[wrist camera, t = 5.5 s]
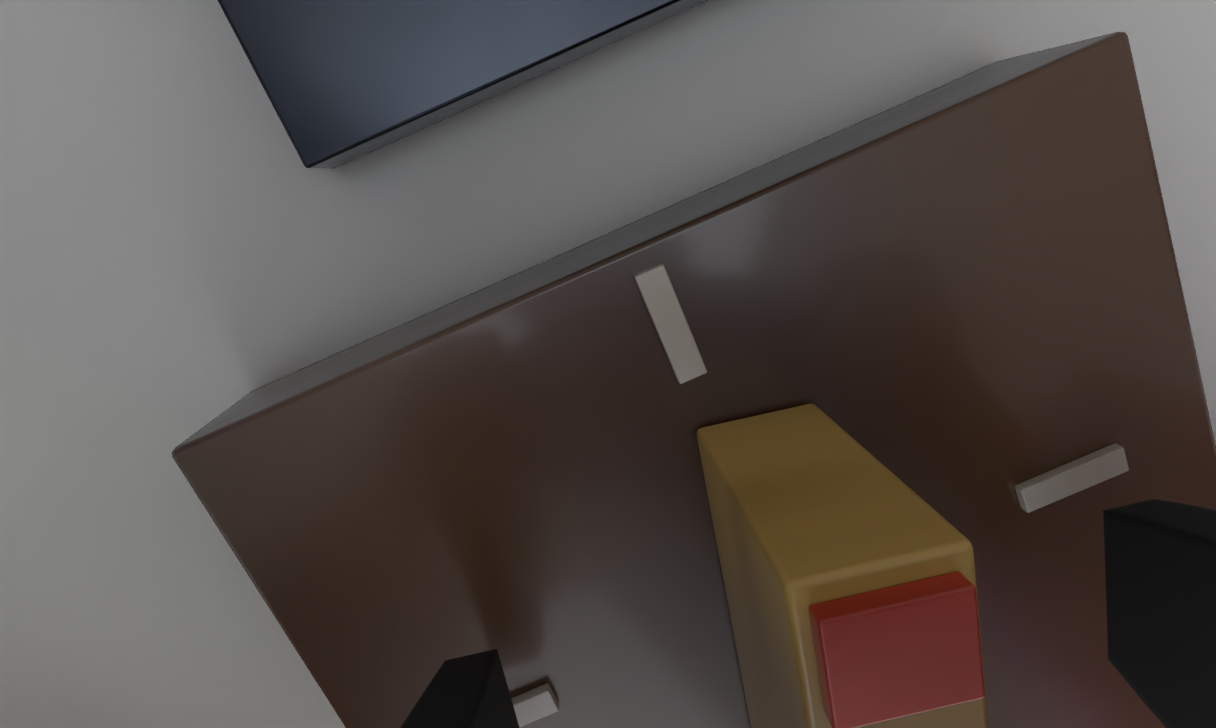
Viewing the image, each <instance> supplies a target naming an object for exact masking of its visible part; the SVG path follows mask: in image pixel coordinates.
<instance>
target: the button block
mask: <svg viewBox="0 0 1216 728" xmlns="http://www.w3.org/2000/svg"><path fill="white" fill-rule="evenodd" d="M705 1H707V0H218V2H219V4H220V6H221V8H222V10H223V12H224V14H225V15H226V17H227V19H228V21H229V23H230V25H231V27H232V29H233V31H234V33H235V34H236V36H237V38H238V40H239V42H240V44H241V46H242V48H243V50H244V52H245V54H246V55H247V57H248V59H249V61H250V63H251V65H252V67H253V69H254V71H255V73H256V75H257V76H258V78H259V80H260V82H261V84H262V86H263V88H264V90H265V92H266V94H267V95H268V97H269V99H270V101H271V103H272V105H273V107H274V109H275V111H276V113H277V115H278V116H279V118H280V120H281V122H282V124H283V126H284V128H285V130H286V132H287V134H288V136H289V137H290V139H291V141H292V143H293V145H294V147H295V149H296V151H297V153H298V155H299V157H300V158H301V160H302V162H303V164H304V166H305V167H306V168H336V167H339V166H341V165H343V164H345V163H348V162H350V161H352V160H354V159H356V158H359V157H361V156H363V155H365V154H367V153H370V152H372V151H374V150H376V149H379V148H381V147H383V146H385V145H387V144H390V143H392V142H394V141H396V140H399V139H401V138H403V137H405V136H407V135H410V134H412V133H414V132H416V131H419V130H421V129H423V128H425V127H427V126H430V125H432V124H434V123H436V122H438V121H441V120H443V119H445V118H447V117H450V116H452V115H454V114H456V113H458V112H461V111H463V110H465V109H467V108H470V107H472V106H474V105H476V104H478V103H481V102H483V101H485V100H487V99H490V98H492V97H494V96H496V95H498V94H501V93H503V92H505V91H507V90H509V89H512V88H514V87H516V86H518V85H521V84H523V83H525V82H527V81H529V80H532V79H534V78H536V77H538V76H541V75H543V74H545V73H547V72H549V71H552V70H554V69H556V68H558V67H561V66H563V65H565V64H567V63H569V62H572V61H574V60H576V59H578V58H581V57H583V56H585V55H587V54H589V53H592V52H594V51H596V50H598V49H600V48H603V47H605V46H607V45H609V44H612V43H614V42H616V41H618V40H620V39H623V38H625V37H627V36H629V35H632V34H634V33H636V32H638V31H640V30H643V29H645V28H647V27H649V26H652V25H654V24H656V23H658V22H660V21H663V20H665V19H667V18H669V17H671V16H674V15H676V14H678V13H680V12H683V11H685V10H687V9H689V8H691V7H694V6H696V5H698V4H700V3H703V2H705Z"/></svg>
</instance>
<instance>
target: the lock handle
mask: <svg viewBox="0 0 1216 728" xmlns="http://www.w3.org/2000/svg"><path fill="white" fill-rule="evenodd" d="M697 440H698V446H699V451H700V457H701V462H702V467H703V473H704V478H705V483H706V489H707V494H708V499H709V505H710V510H711V516H712V521H713V526H714V532H715V537H716V542H717V548H718V553H719V558H720V564H721V569H722V575H723V580H724V585H725V591H726V596H727V601H728V607H729V612H730V617H731V623H732V628H733V633H734V639H735V644H736V650H737V655H738V660H739V666H740V671H741V676H742V682H743V687H744V692H745V698H746V703H747V709H748V714H749V719H750V725H751V728H988V716H987V704H986V693H985V681H984V669H983V658H982V646H981V634H980V623H979V611H978V599H977V588H976V576H975V564H974V553H973V547H972V544H971V543H970V541H969V540H968V539H967V538H966V537H965V536H964V535H963V534H961V533H960V532H959V531H958V530H957V529H956V528H955V527H953V526H952V525H951V524H950V523H949V522H948V521H947V520H946V519H944V518H943V517H942V516H941V515H940V514H939V513H938V512H936V511H935V510H934V509H933V508H932V507H931V506H930V505H928V504H927V503H926V502H925V501H924V500H923V499H922V498H920V497H919V496H918V495H917V494H916V493H915V492H914V491H913V490H911V489H910V488H909V487H908V486H907V485H906V484H905V483H903V482H902V481H901V480H900V479H899V478H898V477H897V476H895V475H894V474H893V473H892V472H891V471H890V470H889V469H887V468H886V467H885V466H884V465H883V464H882V463H881V462H879V461H878V460H877V459H876V458H875V457H874V456H873V455H872V454H870V453H869V452H868V451H867V450H866V449H865V448H864V447H862V446H861V445H860V444H859V443H858V442H857V441H856V440H854V439H853V438H852V437H851V436H850V435H849V434H848V433H846V432H845V431H844V430H843V429H842V428H841V427H840V426H839V425H837V424H836V423H835V422H834V421H833V420H832V419H831V418H829V417H828V416H827V415H826V414H825V413H824V412H823V411H821V410H820V409H819V408H818V407H817V406H816V405H815V404H806V405H802V406H797V407H793V408H788V409H784V410H779V411H775V412H770V413H766V414H761V415H757V416H752V417H748V418H743V419H739V420H734V421H730V422H725V423H721V424H716V425H712V426H707V427H703V428H700V429H698V430H697Z"/></svg>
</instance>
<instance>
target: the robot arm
mask: <svg viewBox="0 0 1216 728" xmlns="http://www.w3.org/2000/svg"><path fill="white" fill-rule="evenodd" d="M1103 516H1104V547H1105V577H1106V607H1107V637H1108V660H1109V661H1110V662H1111V663H1112V664H1113V666H1114V667H1115V668H1116V669H1117V670H1118V672H1119V673H1120V674H1121V675H1122V677H1123V678H1124V679H1125V680H1126V681H1127V683H1128V684H1129V685H1130V686H1131V687H1132V689H1133V690H1134V691H1135V692H1136V694H1137V695H1138V696H1139V697H1140V698H1141V700H1142V701H1143V702H1144V703H1145V704H1146V705H1147V707H1148V708H1149V709H1150V710H1151V711H1152V712H1153V713H1154V715H1155V716H1156V717H1157V718H1158V719H1159V720H1160V721H1161V722H1162V724H1163V725H1164V726H1165V727H1166V728H1216V510H1213V509H1208V508H1203V507H1198V506H1193V505H1188V504H1183V503H1177V502H1171V501H1164V500H1158V499H1151V500H1147V501H1143V502H1138V503H1134V504H1129V505H1125V506H1121V507H1116V508H1112V509H1107V510H1103ZM400 728H519V724H518V721H517V717H516V714H515V710H514V707H513V703H512V699H511V696H510V692H509V689H508V685H507V682H506V678H505V675H504V671H503V668H502V664H501V661H500V657H499V654H498V650H497V649H494V650H489V651H485V652H480V653H476V654H472V655H467V656H463V657H459V658H454V659H450V660H445V661H444V663H443V664H442V666H441V667H440V669H439V670H438V672H437V673H436V675H435V676H434V677H433V679H432V680H431V682H430V683H429V685H428V686H427V688H426V689H425V691H424V692H423V694H422V695H421V697H420V698H419V700H418V701H417V703H416V704H415V706H414V707H413V709H412V710H411V712H410V714H409V715H408V717H407V718H406V720H405V721H404V723H403V724H402V726H401V727H400Z"/></svg>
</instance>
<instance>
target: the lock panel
mask: <svg viewBox="0 0 1216 728" xmlns="http://www.w3.org/2000/svg"><path fill="white" fill-rule="evenodd" d="M806 404H815V405H816V406H817V407H818V408H819V409H820V410H821V411H823V412H824V413H825V414H826V415H827V416H828V417H829V418H831V419H832V420H833V421H834V422H835V423H836V424H837V425H839V426H840V427H841V428H842V429H843V430H844V431H845V432H846V433H848V434H849V435H850V436H851V437H852V438H853V439H854V440H856V441H857V442H858V443H859V444H860V445H861V446H862V447H864V448H865V449H866V450H867V451H868V452H869V453H870V454H872V455H873V456H874V457H875V458H876V459H877V460H878V461H879V462H881V463H882V464H883V465H884V466H885V467H886V468H887V469H889V470H890V471H891V472H892V473H893V474H894V475H895V476H897V477H898V478H899V479H900V480H901V481H902V482H903V483H905V484H906V485H907V486H908V487H909V488H910V489H911V490H913V491H914V492H915V493H916V494H917V495H918V496H919V497H920V498H922V499H923V500H924V501H925V502H926V503H927V504H928V505H930V506H931V507H932V508H933V509H934V510H935V511H936V512H938V513H939V514H940V515H941V516H942V517H943V518H944V519H946V520H947V521H948V522H949V523H950V524H951V525H952V526H953V527H955V528H956V529H957V530H958V531H959V532H960V533H961V534H963V535H964V536H965V537H966V538H967V539H968V540H969V541H970V543H971V544H972V547H973V553H974V564H975V576H976V588H977V599H978V611H979V623H980V634H981V646H982V658H983V669H984V681H985V693H986V704H987V716H988V728H1166V727H1165V726H1164V725H1163V724H1162V722H1161V721H1160V720H1159V719H1158V718H1157V717H1156V716H1155V715H1154V713H1153V712H1152V711H1151V710H1150V709H1149V708H1148V707H1147V705H1146V704H1145V703H1144V702H1143V701H1142V700H1141V698H1140V697H1139V696H1138V695H1137V694H1136V692H1135V691H1134V690H1133V689H1132V687H1131V686H1130V685H1129V684H1128V683H1127V681H1126V680H1125V679H1124V678H1123V677H1122V675H1121V674H1120V673H1119V672H1118V670H1117V669H1116V668H1115V667H1114V666H1113V664H1112V663H1111V662H1110V661H1109V660H1108V637H1107V607H1106V577H1105V547H1104V516H1103V510H1107V509H1112V508H1116V507H1121V506H1125V505H1129V504H1134V503H1138V502H1143V501H1147V500H1151V499H1158V500H1164V501H1171V502H1177V503H1183V504H1188V505H1193V506H1198V507H1203V508H1208V509H1213V510H1216V445H1215V440H1214V436H1213V431H1212V426H1211V422H1210V417H1209V412H1208V408H1207V403H1206V398H1205V394H1204V389H1203V384H1202V380H1201V375H1200V370H1199V366H1198V361H1197V356H1196V352H1195V347H1194V342H1193V338H1192V333H1191V328H1190V324H1189V319H1188V314H1187V310H1186V305H1185V300H1184V296H1183V291H1182V286H1181V282H1180V277H1179V273H1178V268H1177V263H1176V259H1175V254H1174V249H1173V245H1172V240H1171V235H1170V231H1169V226H1168V221H1167V217H1166V212H1165V207H1164V203H1163V198H1162V193H1161V189H1160V184H1159V179H1158V175H1157V170H1156V165H1155V161H1154V156H1153V151H1152V147H1151V142H1150V137H1149V133H1148V128H1147V123H1146V119H1145V114H1144V109H1143V105H1142V100H1141V95H1140V91H1139V86H1138V81H1137V77H1136V72H1135V67H1134V63H1133V58H1132V53H1131V49H1130V44H1129V39H1128V36H1127V34H1126V33H1125V32H1115V33H1111V34H1107V35H1103V36H1099V37H1095V38H1091V39H1087V40H1083V41H1079V42H1075V43H1071V44H1067V45H1062V46H1058V47H1054V48H1050V49H1046V50H1042V51H1038V52H1034V53H1030V54H1026V55H1022V56H1018V57H1014V58H1010V59H1005V60H1001V61H997V62H995V63H993V64H991V65H988V66H986V67H984V68H982V69H979V70H977V71H975V72H973V73H970V74H968V75H966V76H963V77H961V78H959V79H957V80H954V81H952V82H950V83H948V84H945V85H943V86H941V87H939V88H936V89H934V90H932V91H930V92H927V93H925V94H923V95H921V96H918V97H916V98H914V99H911V100H909V101H907V102H905V103H902V104H900V105H898V106H896V107H893V108H891V109H889V110H887V111H884V112H882V113H880V114H878V115H875V116H873V117H871V118H868V119H866V120H864V121H862V122H859V123H857V124H855V125H853V126H850V127H848V128H846V129H844V130H841V131H839V132H837V133H835V134H832V135H830V136H828V137H826V138H823V139H821V140H819V141H816V142H814V143H812V144H810V145H807V146H805V147H803V148H801V149H798V150H796V151H794V152H792V153H789V154H787V155H785V156H783V157H780V158H778V159H776V160H773V161H771V162H769V163H767V164H764V165H762V166H760V167H758V168H755V169H753V170H751V171H749V172H746V173H744V174H742V175H740V176H737V177H735V178H733V179H731V180H728V181H726V182H724V183H721V184H719V185H717V186H715V187H712V188H710V189H708V190H706V191H703V192H701V193H699V194H697V195H694V196H692V197H690V198H688V199H685V200H683V201H681V202H678V203H676V204H674V205H672V206H669V207H667V208H665V209H663V210H660V211H658V212H656V213H654V214H651V215H649V216H647V217H645V218H642V219H640V220H638V221H636V222H633V223H631V224H629V225H626V226H624V227H622V228H620V229H617V230H615V231H613V232H611V233H608V234H606V235H604V236H602V237H599V238H597V239H595V240H593V241H590V242H588V243H586V244H583V245H581V246H579V247H577V248H574V249H572V250H570V251H568V252H565V253H563V254H561V255H559V256H556V257H554V258H552V259H550V260H547V261H545V262H543V263H541V264H538V265H536V266H534V267H531V268H529V269H527V270H525V271H522V272H520V273H518V274H516V275H513V276H511V277H509V278H507V279H504V280H502V281H500V282H498V283H495V284H493V285H491V286H488V287H486V288H484V289H482V290H479V291H477V292H475V293H473V294H470V295H468V296H466V297H464V298H461V299H459V300H457V301H455V302H452V303H450V304H448V305H446V306H443V307H441V308H439V309H436V310H434V311H432V312H430V313H427V314H425V315H423V316H421V317H418V318H416V319H414V320H412V321H409V322H407V323H405V324H403V325H400V326H398V327H396V328H393V329H391V330H389V331H387V332H384V333H382V334H380V335H378V336H375V337H373V338H371V339H369V340H366V341H364V342H362V343H360V344H357V345H355V346H353V347H351V348H348V349H346V350H344V351H341V352H339V353H337V354H335V355H332V356H330V357H328V358H326V359H323V360H321V361H319V362H317V363H314V364H312V365H310V366H308V367H305V368H303V369H301V370H298V371H296V372H294V373H292V374H289V375H287V376H285V377H283V378H280V379H278V380H276V381H274V382H271V383H269V384H267V385H265V386H262V387H260V388H258V389H255V390H253V391H251V392H250V393H249V394H247V395H246V396H245V397H243V398H242V399H241V400H239V401H238V402H236V403H235V404H234V405H232V406H231V407H230V408H228V409H227V410H226V411H224V412H223V413H222V414H220V415H219V416H218V417H216V418H215V419H213V420H212V421H211V422H209V423H208V424H207V425H205V426H204V427H203V428H201V429H200V430H199V431H197V432H196V433H194V434H193V435H192V436H190V437H189V438H188V439H186V440H185V441H184V442H182V443H181V444H180V445H178V446H177V447H176V448H175V449H174V450H173V451H172V457H173V458H174V460H175V462H176V463H177V465H178V466H179V468H180V469H181V471H182V473H183V474H184V476H185V477H186V479H187V480H188V482H189V483H190V485H191V487H192V488H193V490H194V491H195V493H196V494H197V496H198V498H199V499H200V501H201V502H202V504H203V505H204V507H205V508H206V510H207V512H208V513H209V515H210V516H211V518H212V519H213V521H214V523H215V524H216V526H217V527H218V529H219V530H220V532H221V533H222V535H223V537H224V538H225V540H226V541H227V543H228V544H229V546H230V547H231V549H232V551H233V552H234V554H235V555H236V557H237V558H238V560H239V562H240V563H241V565H242V566H243V568H244V569H245V571H246V572H247V574H248V576H249V577H250V579H251V580H252V582H253V583H254V585H255V587H256V588H257V590H258V591H259V593H260V594H261V596H262V597H263V599H264V601H265V602H266V604H267V605H268V607H269V608H270V610H271V612H272V613H273V615H274V616H275V618H276V619H277V621H278V622H279V624H280V626H281V627H282V629H283V630H284V632H285V633H286V635H287V636H288V638H289V640H290V641H291V643H292V644H293V646H294V647H295V649H296V651H297V652H298V654H299V655H300V657H301V658H302V660H303V661H304V663H305V665H306V666H307V668H308V669H309V671H310V672H311V674H312V676H313V677H314V679H315V680H316V682H317V683H318V685H319V686H320V688H321V690H322V691H323V693H324V694H325V696H326V697H327V699H328V701H329V702H330V704H331V705H332V707H333V708H334V710H335V711H336V713H337V715H338V716H339V718H340V719H341V721H342V722H343V724H344V726H345V727H346V728H400V727H401V726H402V724H403V723H404V721H405V720H406V718H407V717H408V715H409V714H410V712H411V710H412V709H413V707H414V706H415V704H416V703H417V701H418V700H419V698H420V697H421V695H422V694H423V692H424V691H425V689H426V688H427V686H428V685H429V683H430V682H431V680H432V679H433V677H434V676H435V675H436V673H437V672H438V670H439V669H440V667H441V666H442V664H443V663H444V661H445V660H450V659H454V658H459V657H463V656H467V655H472V654H476V653H480V652H485V651H489V650H494V649H497V650H498V654H499V657H500V661H501V664H502V668H503V671H504V675H505V678H506V682H507V685H508V689H509V692H510V696H511V699H512V703H513V707H514V710H515V714H516V717H517V721H518V724H519V728H751V725H750V719H749V714H748V709H747V703H746V698H745V692H744V687H743V682H742V676H741V671H740V666H739V660H738V655H737V650H736V644H735V639H734V633H733V628H732V623H731V617H730V612H729V607H728V601H727V596H726V591H725V585H724V580H723V575H722V569H721V564H720V558H719V553H718V548H717V542H716V537H715V532H714V526H713V521H712V516H711V510H710V505H709V499H708V494H707V489H706V483H705V478H704V473H703V467H702V462H701V457H700V451H699V446H698V440H697V430H698V429H700V428H703V427H707V426H712V425H716V424H721V423H725V422H730V421H734V420H739V419H743V418H748V417H752V416H757V415H761V414H766V413H770V412H775V411H779V410H784V409H788V408H793V407H797V406H802V405H806Z"/></svg>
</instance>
